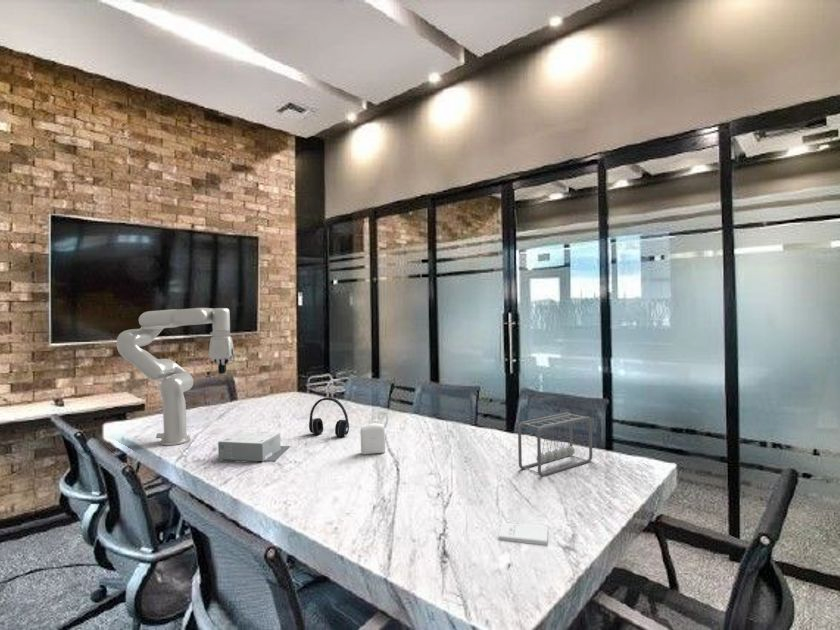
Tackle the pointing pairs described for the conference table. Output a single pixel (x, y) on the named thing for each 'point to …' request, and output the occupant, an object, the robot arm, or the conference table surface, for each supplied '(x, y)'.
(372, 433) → the photo printer
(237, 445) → the hard drive box
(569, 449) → the newton's cradle
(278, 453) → the rubber mat
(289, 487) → the conference table surface
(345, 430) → the headphones
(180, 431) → the robot arm
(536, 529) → the external hard drive
